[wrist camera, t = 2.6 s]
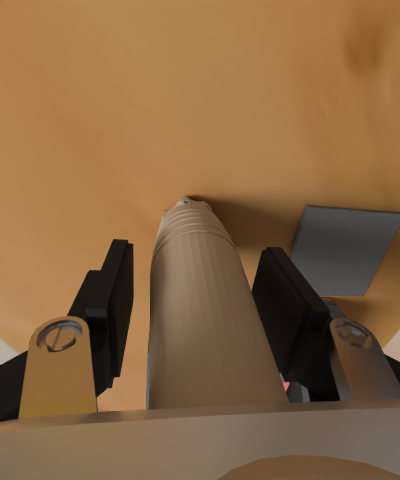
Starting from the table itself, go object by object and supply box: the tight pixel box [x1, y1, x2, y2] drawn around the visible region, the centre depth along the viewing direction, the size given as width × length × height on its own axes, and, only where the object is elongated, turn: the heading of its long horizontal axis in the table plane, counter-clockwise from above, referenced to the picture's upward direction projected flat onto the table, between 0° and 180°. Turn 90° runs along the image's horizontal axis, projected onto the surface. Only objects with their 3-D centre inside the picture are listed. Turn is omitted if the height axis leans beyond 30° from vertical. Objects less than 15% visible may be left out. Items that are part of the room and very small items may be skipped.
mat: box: [289, 205, 400, 296], centre depth 19 cm, size 7×7×1 cm
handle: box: [148, 196, 400, 480], centre depth 10 cm, size 5×6×15 cm
